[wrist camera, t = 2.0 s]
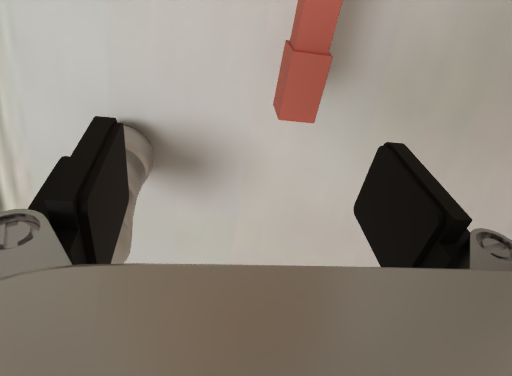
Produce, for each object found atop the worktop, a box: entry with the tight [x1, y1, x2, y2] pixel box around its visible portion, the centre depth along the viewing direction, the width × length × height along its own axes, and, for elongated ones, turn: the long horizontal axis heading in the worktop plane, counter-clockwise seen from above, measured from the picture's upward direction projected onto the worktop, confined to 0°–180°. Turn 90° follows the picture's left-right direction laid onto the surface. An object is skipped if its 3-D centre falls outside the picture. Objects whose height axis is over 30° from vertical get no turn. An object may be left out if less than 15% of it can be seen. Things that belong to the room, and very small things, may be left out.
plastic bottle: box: [111, 125, 153, 264], centre depth 29 cm, size 6×7×20 cm
